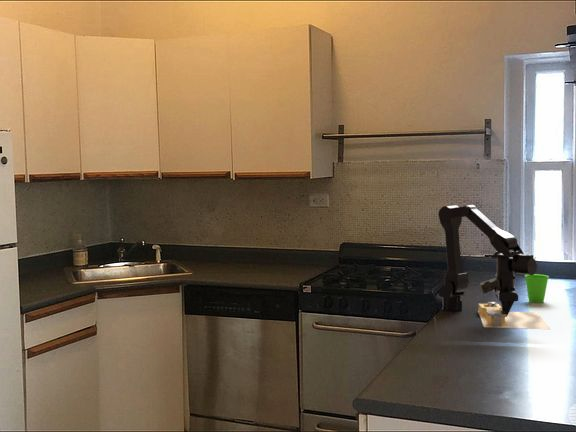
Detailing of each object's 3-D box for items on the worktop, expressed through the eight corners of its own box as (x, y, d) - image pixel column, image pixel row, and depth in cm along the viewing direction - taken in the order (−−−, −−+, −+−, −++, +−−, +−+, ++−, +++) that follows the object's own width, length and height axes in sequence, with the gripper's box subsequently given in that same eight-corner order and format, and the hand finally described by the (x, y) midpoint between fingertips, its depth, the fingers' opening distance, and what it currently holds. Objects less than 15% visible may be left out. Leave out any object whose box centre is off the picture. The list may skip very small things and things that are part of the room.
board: (483, 329, 231) (483, 326, 231) (478, 313, 255) (478, 310, 255) (550, 332, 227) (550, 329, 227) (537, 315, 251) (538, 312, 251)
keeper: (506, 326, 231) (507, 315, 230) (488, 326, 232) (488, 314, 231) (504, 321, 238) (504, 310, 237) (486, 321, 239) (486, 310, 238)
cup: (533, 307, 265) (533, 278, 264) (519, 302, 274) (519, 274, 273) (553, 305, 268) (554, 277, 267) (539, 301, 276) (539, 273, 276)
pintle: (487, 314, 249) (488, 303, 249) (487, 312, 252) (487, 301, 252) (496, 314, 249) (496, 303, 248) (495, 312, 252) (495, 301, 251)
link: (508, 324, 234) (508, 315, 234) (487, 323, 235) (487, 315, 235) (498, 312, 253) (498, 303, 253) (478, 311, 254) (478, 303, 253)
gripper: (479, 267, 249) (478, 310, 251) (483, 276, 231) (483, 322, 232) (511, 267, 247) (510, 311, 248) (518, 276, 229) (518, 323, 230)
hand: (505, 316), depth 240 cm, fingers closed
